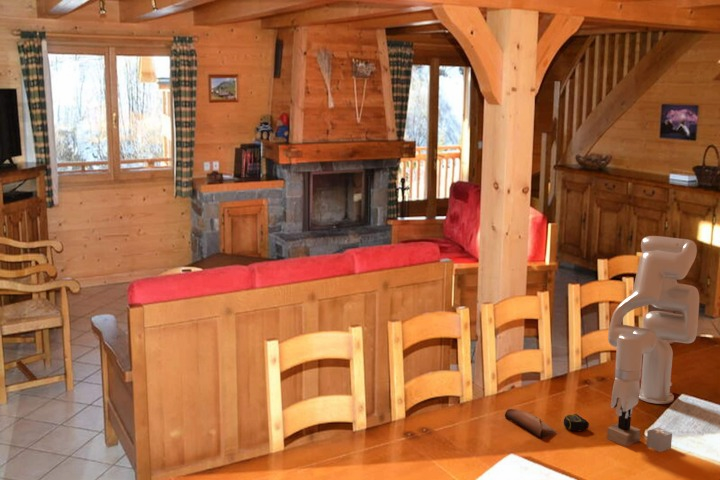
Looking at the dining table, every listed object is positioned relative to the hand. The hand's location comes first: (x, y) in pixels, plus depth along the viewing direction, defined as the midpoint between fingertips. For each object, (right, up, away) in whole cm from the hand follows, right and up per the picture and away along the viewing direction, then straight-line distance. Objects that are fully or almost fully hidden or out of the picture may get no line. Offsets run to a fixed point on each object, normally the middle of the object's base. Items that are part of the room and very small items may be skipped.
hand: (624, 428), depth 236 cm
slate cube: (+9, -5, -4) cm, 11 cm away
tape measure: (-12, -2, +10) cm, 16 cm away
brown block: (0, -4, +1) cm, 4 cm away
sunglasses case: (-27, -3, +11) cm, 29 cm away
